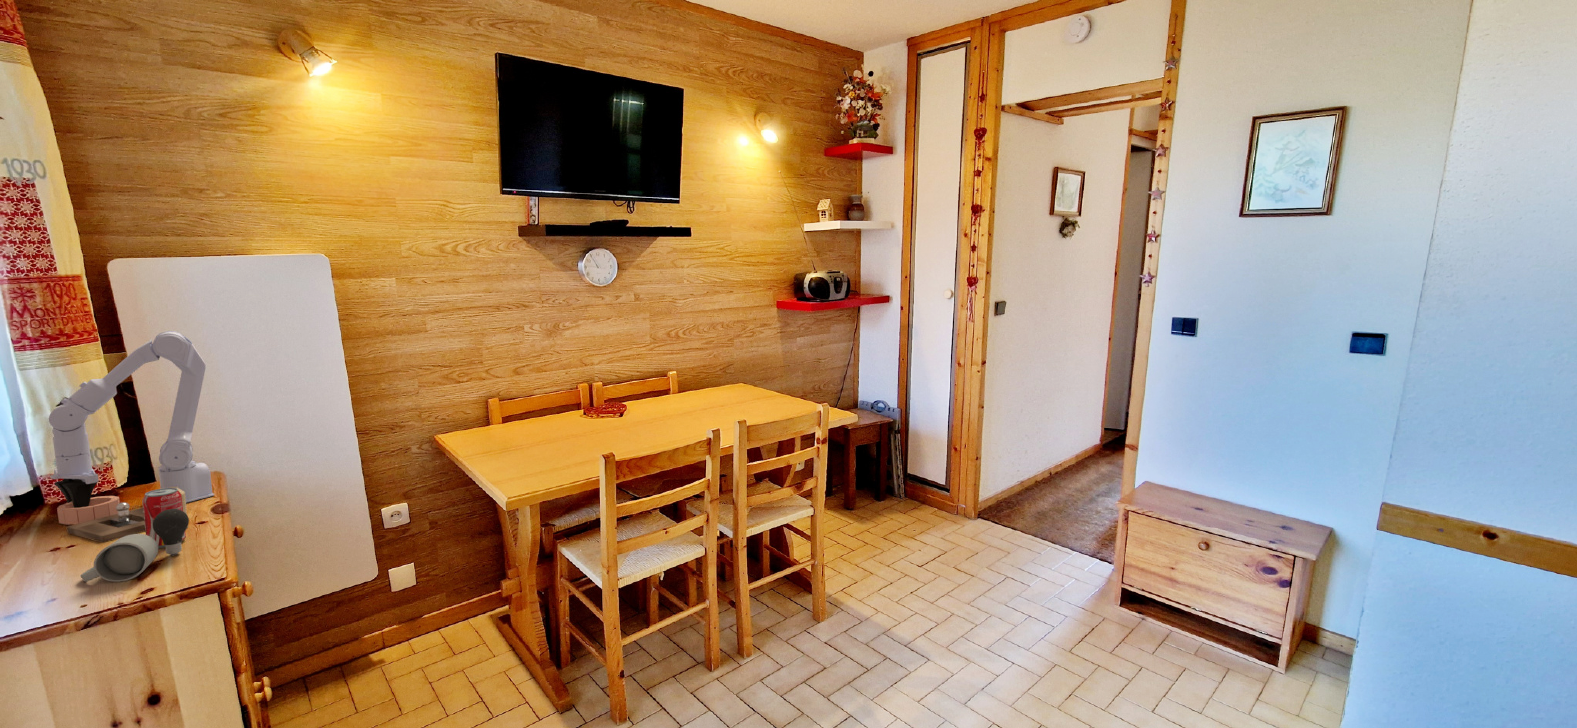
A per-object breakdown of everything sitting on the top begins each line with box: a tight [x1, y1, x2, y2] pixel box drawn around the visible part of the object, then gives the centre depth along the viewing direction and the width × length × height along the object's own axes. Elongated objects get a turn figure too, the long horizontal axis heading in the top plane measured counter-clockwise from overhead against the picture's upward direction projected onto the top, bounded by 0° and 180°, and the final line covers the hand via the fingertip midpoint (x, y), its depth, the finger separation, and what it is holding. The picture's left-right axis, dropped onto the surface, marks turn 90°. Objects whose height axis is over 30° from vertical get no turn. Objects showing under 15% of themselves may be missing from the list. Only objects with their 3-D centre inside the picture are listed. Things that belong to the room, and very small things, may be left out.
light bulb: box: [152, 509, 190, 557], centre depth 139 cm, size 6×6×10 cm
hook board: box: [66, 507, 146, 543], centre depth 154 cm, size 14×14×2 cm
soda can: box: [142, 488, 187, 549], centre depth 144 cm, size 6×6×12 cm
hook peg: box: [110, 501, 138, 528], centre depth 153 cm, size 2×8×6 cm, turn 70°
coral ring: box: [56, 495, 121, 525], centre depth 158 cm, size 10×10×4 cm
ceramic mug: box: [80, 533, 159, 583], centre depth 129 cm, size 11×8×8 cm
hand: (79, 508), depth 160 cm, fingers closed on coral ring
